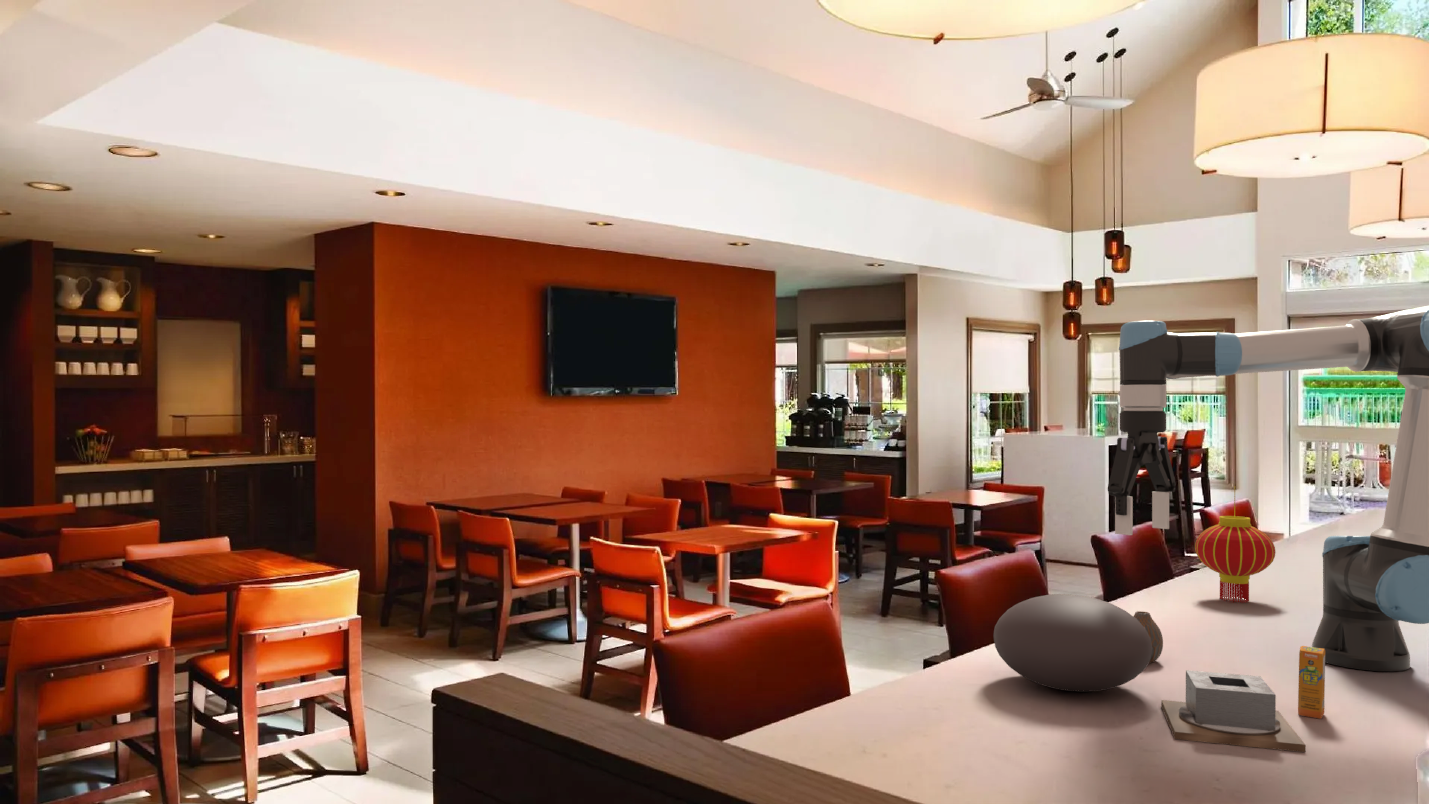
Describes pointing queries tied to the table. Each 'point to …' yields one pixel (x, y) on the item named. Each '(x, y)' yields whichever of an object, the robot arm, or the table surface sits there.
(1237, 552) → the lantern
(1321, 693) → the supplement box
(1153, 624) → the vase
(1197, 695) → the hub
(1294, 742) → the walnut board
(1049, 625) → the smooth stone
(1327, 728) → the table surface
